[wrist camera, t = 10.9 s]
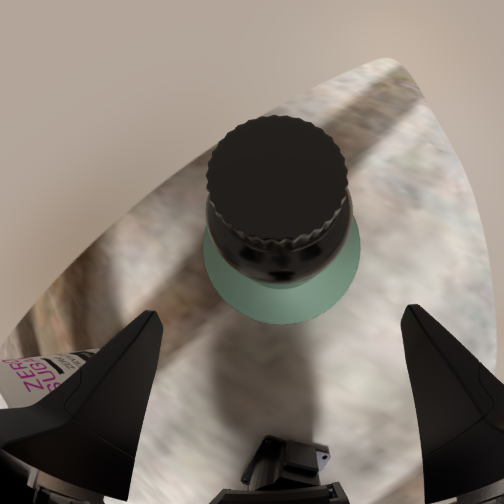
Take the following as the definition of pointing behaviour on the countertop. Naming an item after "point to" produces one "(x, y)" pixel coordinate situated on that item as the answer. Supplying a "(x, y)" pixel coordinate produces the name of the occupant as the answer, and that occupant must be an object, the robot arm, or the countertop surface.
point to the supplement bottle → (278, 201)
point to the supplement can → (37, 376)
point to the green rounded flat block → (284, 300)
